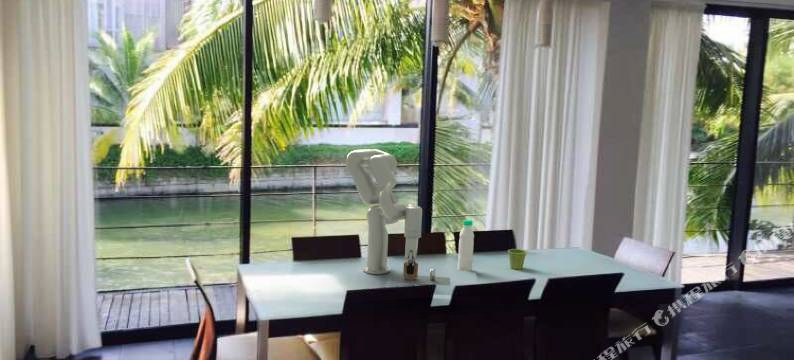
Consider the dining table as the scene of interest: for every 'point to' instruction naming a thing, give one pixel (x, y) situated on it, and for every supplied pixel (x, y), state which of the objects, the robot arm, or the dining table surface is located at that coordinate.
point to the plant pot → (517, 258)
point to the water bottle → (466, 247)
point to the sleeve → (410, 274)
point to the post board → (422, 280)
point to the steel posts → (432, 275)
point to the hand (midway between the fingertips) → (410, 271)
